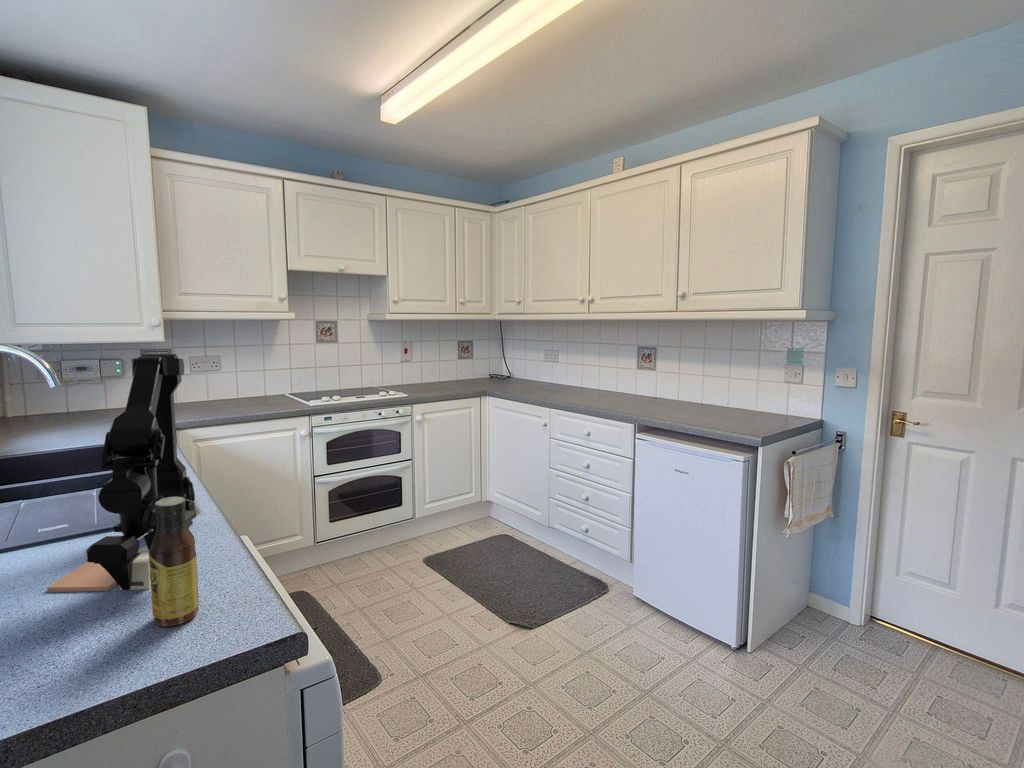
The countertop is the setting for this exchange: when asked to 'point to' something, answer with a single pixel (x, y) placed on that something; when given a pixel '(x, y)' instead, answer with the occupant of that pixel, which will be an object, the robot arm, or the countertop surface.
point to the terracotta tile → (84, 580)
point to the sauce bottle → (173, 565)
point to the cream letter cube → (141, 571)
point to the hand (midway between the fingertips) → (143, 576)
